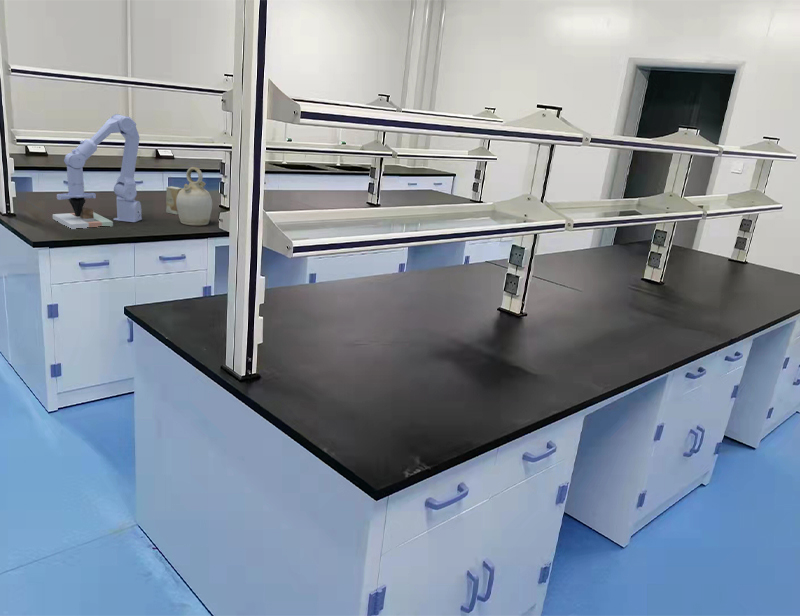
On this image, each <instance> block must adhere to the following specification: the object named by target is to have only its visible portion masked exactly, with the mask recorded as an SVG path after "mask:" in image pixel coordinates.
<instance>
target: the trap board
mask: <svg viewBox="0 0 800 616" xmlns="http://www.w3.org/2000/svg"><path fill="white" fill-rule="evenodd" d="M93 215H94V218H91V219H83V218H81V217H77V216H75V212H70V213H55V214H54V213H53V214H52V220H54V221H56V222H57V221H58V222H57V223H58V224H61V225H63V226H64V225H65V226H64V227H66V226H67V227H66V228H68V227H69V228H68V229H70V228H71V229H70V230H77V229H76V228H83V229H88V228H87V227H97V228H99V227H98V226H110V227H114V222H113V221H114V220H113V221H112V220H111V219H109V218H106V217H104V216H102V215H100V214H98V213H96V212H94V211H93Z"/></svg>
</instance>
